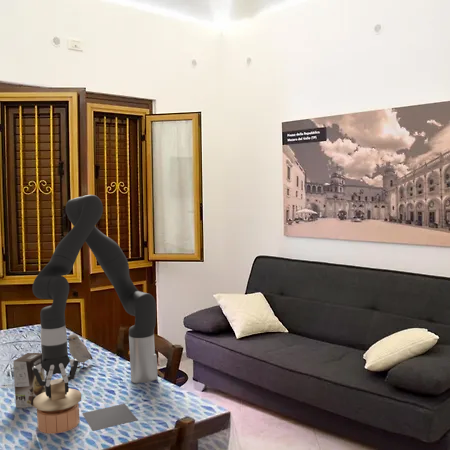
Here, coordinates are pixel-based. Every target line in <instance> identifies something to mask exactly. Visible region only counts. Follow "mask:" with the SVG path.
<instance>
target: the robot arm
mask: <svg viewBox="0 0 450 450" xmlns="http://www.w3.org/2000/svg"><path fill="white" fill-rule="evenodd" d="M103 212H104V207H103V203H102V200H101V199H100V198H99V197H98V196H97V195H95V194H87V195H83V196H82V195H81V196H78V197H74V198H71V199H69V200H68V201H67V202H66V204H65V213H66V216H67V218H68V220H69V221H70V223H71V224H72V226H73V227H72V228H71V229H70V230H69V232H67V234H66V235H65V236H64V237H63V238H62V239H61V240H60V242H58V244H57V246H56V248H55V249H54V252H53V254H52V255H51V258H50V260H49V262H48V263H46V265H45V266H44V267H43V268H42V269H41V270H40V271H39V273H38V274H37V275H36V277H35V278H34V281H33V282H32V294H33V295H34V296H35V297H36V298H37V299H40V300H41V299H42V300H52V304H51V305H47V306H45V307H42V308H41V310H40V313H39V314H40V347H41V353H42V361H41V364H39V365H37V366H33V367H32V370H33V372H34V374H35V376H36V378H37V380H38V383H39V385H40V386H42V385H43V386H45V393H46V395H47V397H49V398H51V386H50V382H51V380H53V379H52V378H53V375H56V374H57V375H58V374H61V375H60V376H61V378H62V379H63V380H64V382H65V395H66V394H67V392H68V391H69V388H70V387H69V382H70V381H72V380H74V379H75V377H76V374H77V370H78V368H77V367H79V362H78V360H77V359H74V358H70V356H69V348H68V340H67V338H68V334H67V328H66V316H65V311H66V306H67V302H68V296H69V293H70V284H69V281H68V280H67V278H66V276H67V275H69V274H70V273H71V271H72V270H73V267H74V265H75V263H76V261H77V259H78V256H79V254H80V251H81V249H82V247H83V245H84V244H85V243H86V245H87V246H88V248H89V249H90V251H91V252H92V254H93V255H94V257H95V259H96V261H97V262H98V265H99V266H100V268H101V270H102V271H103V272H104V274H105V275H106V278H107V279H108V280H109V283H111V285H112V287H113V288H114V290H115V292H116V294H117V296H118V298H119V301H120V303H121V305H122V306H123V309H124V310H125V312H126V313H127V314H128V315H130V316H134V317H135V318H134V325H132V326H130V327H129V328H128V341H129V343H128V344H129V345H128V346H129V358H130V359H129V362H130V381H131V382H132V383H133V384H142V383H143V384H145V383H149V382H154V381H157V380H158V358H157V357H158V356H157V354H156V351H155V350H156V349H155V327H156V325H157V324H156V323H157V311H156V310H157V304H156V299H155V297H154V296H153V295H152V294H151V293H149V292H148V293H147V292H145V291H140V290H139V289H138V288H137V287H136V286H135V284H134V282H133V280H132V279H131V277H130V265H129V260H128V259H127V257H126V255H125V253H124V252H123V250H122V248H121V247H120V245H119V244H118V243H117V242H116V241H115V240H114V239H112V238H111V237H109V236H107V235H106V234H104V233H103V232H102V231H101V230H99V228H97V226H96V225H97V223H98V222H99V221H100V219H101V217H102V215H103ZM68 365H70V368H69V369H70V370H69V372H68V374H67V372H66V368H67V367H68ZM41 368H43V369H44V371H45V380H42V379H41V376H40V374H39V373H40V372H41Z"/></svg>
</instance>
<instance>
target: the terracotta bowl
mask: <svg viewBox="0 0 450 450" xmlns="http://www.w3.org/2000/svg"><path fill="white" fill-rule="evenodd" d="M80 420H81V419H80V404H79V403H77V404H76V405H74V406H72V407H69V408H66V409H62V410H57V411H42V410H38V409H36V421H37V429H38V431H39V432H42V433H44V434H60V433H65V432H68V431H71V430H73V429H75V428H76V427H77V426H78V425H79V423H80V422H81V421H80Z"/></svg>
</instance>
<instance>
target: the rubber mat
mask: <svg viewBox="0 0 450 450" xmlns="http://www.w3.org/2000/svg"><path fill="white" fill-rule="evenodd" d="M81 413H82V415H83V417H84V419H85V421H86V422H87V424H88V425H89V427H90V429H91V430H92V432H94V431H98V430H102V429H106V428H111V427H114V426H120V425H122V424H127V423H131V422H132V423H133V422H136V421H138V418H137V417H136V415H134V413H133V412H132V411H131V409H130V408H129V407H128V406H127V405H126V403H122V404H116V405H113V406H108V407H103V408H99V409H95V410H91V411H90V410H89V411H86V412H81Z"/></svg>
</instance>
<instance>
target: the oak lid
mask: <svg viewBox="0 0 450 450" xmlns="http://www.w3.org/2000/svg"><path fill="white" fill-rule="evenodd" d="M50 386H51V398H49V397H47V395H46V393H45V392H44V393H41V394H39V395H38V396H36V397H35V398H34V400H33V404H34V406H33V408H35V409H36V410H37V409H38V410H42V411H57V410H62V409H66V408H69V407H72V406H74V405H76V404H77V403H78V404H79V403H80V402H81V400H82V393H81V390H78V389H74V388H70V387H69V391H68V392H67V394H66V395H65V382H64V380H63V378H62V377H59V378H57V379H51V382H50Z"/></svg>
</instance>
